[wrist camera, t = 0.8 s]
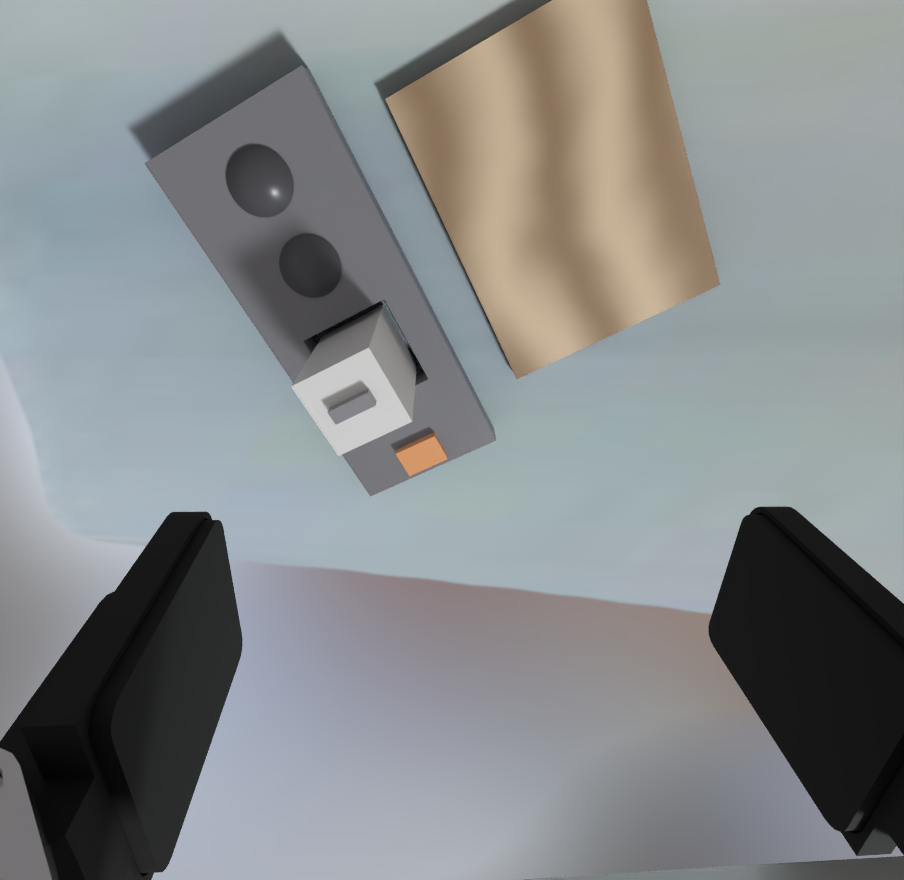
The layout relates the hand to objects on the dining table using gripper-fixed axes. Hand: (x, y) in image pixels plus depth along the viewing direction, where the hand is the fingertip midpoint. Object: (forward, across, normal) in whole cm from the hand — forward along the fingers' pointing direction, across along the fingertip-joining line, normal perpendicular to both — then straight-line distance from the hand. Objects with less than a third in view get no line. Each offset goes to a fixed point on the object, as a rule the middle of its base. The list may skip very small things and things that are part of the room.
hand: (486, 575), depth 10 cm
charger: (+28, +4, +4) cm, 29 cm away
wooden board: (+27, -8, -6) cm, 29 cm away
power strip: (+28, +5, +2) cm, 29 cm away
